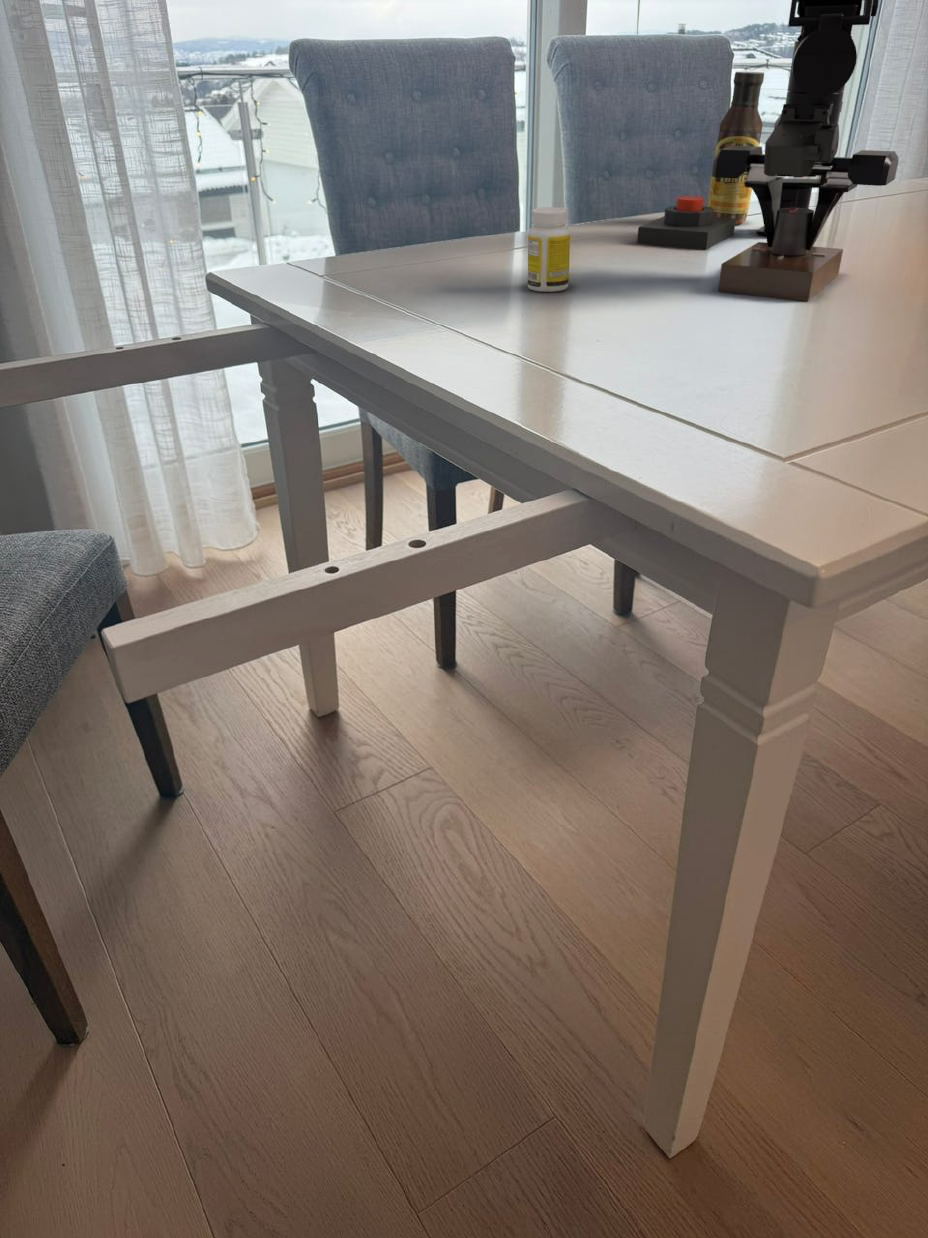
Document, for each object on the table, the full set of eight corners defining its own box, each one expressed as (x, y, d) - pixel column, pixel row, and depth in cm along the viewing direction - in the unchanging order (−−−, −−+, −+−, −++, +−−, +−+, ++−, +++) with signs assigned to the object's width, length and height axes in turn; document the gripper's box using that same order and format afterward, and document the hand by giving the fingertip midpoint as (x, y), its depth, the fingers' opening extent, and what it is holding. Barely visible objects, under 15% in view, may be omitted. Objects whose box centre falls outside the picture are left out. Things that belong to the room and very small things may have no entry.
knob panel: (754, 267, 112) (758, 240, 110) (838, 275, 107) (843, 247, 105) (717, 291, 102) (721, 262, 100) (808, 301, 97) (813, 270, 95)
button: (681, 208, 128) (682, 195, 127) (705, 210, 126) (707, 196, 125) (672, 212, 125) (673, 198, 124) (697, 214, 124) (698, 200, 123)
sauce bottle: (704, 225, 136) (722, 72, 125) (705, 218, 141) (722, 70, 130) (749, 226, 135) (771, 71, 124) (748, 219, 140) (769, 70, 129)
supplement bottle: (572, 284, 106) (575, 206, 102) (562, 293, 102) (566, 213, 98) (533, 282, 107) (534, 205, 103) (522, 291, 104) (523, 212, 99)
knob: (776, 247, 106) (783, 203, 104) (810, 250, 105) (818, 205, 102) (766, 253, 104) (773, 208, 101) (801, 256, 102) (809, 211, 99)
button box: (668, 229, 134) (670, 200, 132) (733, 234, 130) (738, 204, 128) (636, 243, 126) (639, 212, 124) (706, 249, 121) (709, 217, 119)
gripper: (704, 95, 94) (687, 253, 102) (894, 97, 86) (858, 269, 94) (737, 89, 102) (719, 236, 110) (914, 90, 93) (880, 250, 102)
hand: (789, 247), depth 104 cm, fingers closed on knob, 4 cm apart
